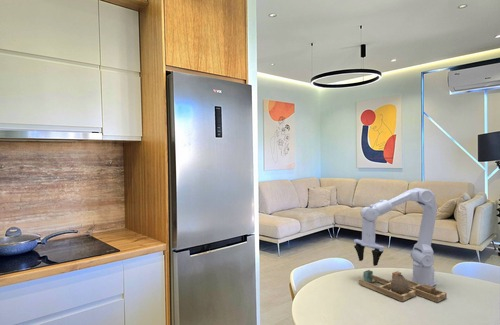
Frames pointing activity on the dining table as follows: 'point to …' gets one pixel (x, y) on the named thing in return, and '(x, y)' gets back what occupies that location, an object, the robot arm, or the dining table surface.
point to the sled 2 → (417, 287)
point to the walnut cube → (428, 289)
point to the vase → (399, 285)
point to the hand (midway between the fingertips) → (368, 262)
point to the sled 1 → (383, 286)
